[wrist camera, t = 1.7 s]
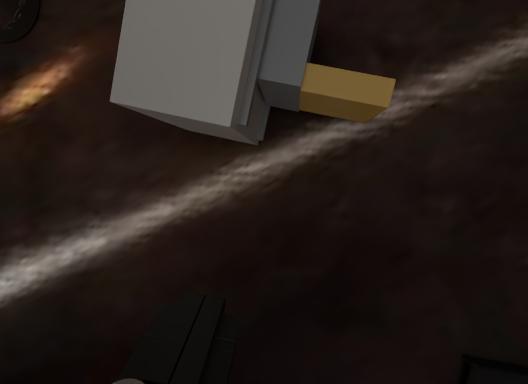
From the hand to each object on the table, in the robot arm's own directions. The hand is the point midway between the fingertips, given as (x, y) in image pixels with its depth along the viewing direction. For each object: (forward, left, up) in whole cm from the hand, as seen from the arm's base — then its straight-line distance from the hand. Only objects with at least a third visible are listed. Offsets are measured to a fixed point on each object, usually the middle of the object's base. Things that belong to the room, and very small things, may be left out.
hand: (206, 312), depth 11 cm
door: (-4, +15, -19) cm, 25 cm away
